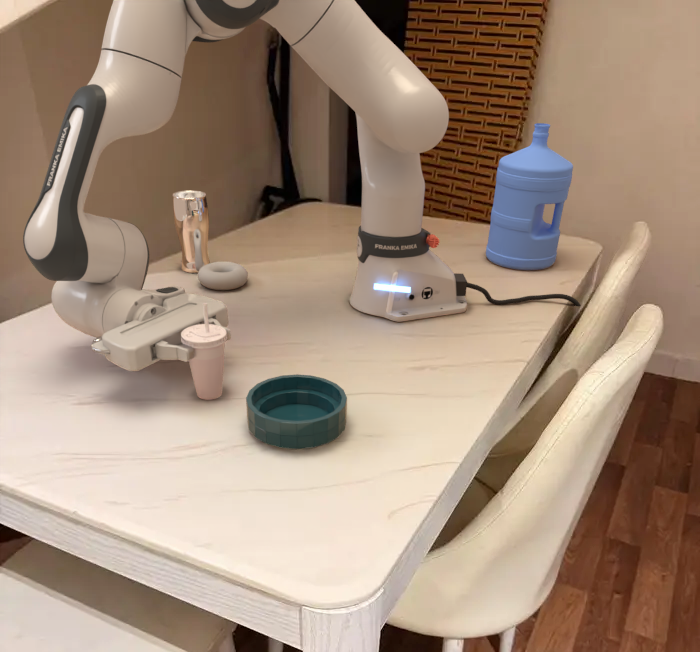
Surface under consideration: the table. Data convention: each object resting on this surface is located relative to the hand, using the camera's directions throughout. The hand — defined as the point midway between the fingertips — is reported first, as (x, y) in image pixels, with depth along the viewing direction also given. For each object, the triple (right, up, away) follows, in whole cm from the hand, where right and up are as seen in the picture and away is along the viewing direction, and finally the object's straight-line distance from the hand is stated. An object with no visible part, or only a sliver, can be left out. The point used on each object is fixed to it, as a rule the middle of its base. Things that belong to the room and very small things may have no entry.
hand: (209, 345), depth 98 cm
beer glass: (-13, +25, +50) cm, 57 cm away
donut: (-6, +20, +43) cm, 47 cm away
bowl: (+12, -12, -2) cm, 17 cm away
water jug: (+58, +30, +60) cm, 89 cm away
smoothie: (-1, -7, +5) cm, 8 cm away
